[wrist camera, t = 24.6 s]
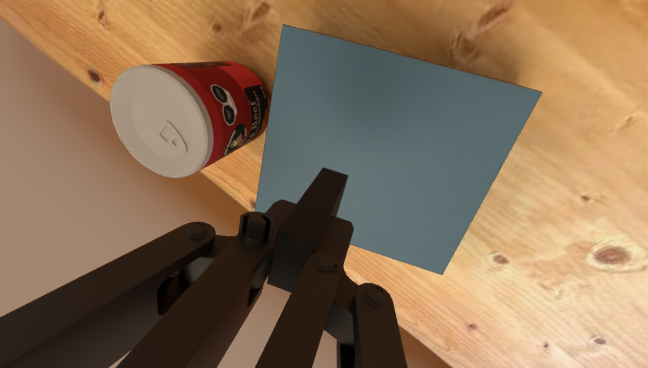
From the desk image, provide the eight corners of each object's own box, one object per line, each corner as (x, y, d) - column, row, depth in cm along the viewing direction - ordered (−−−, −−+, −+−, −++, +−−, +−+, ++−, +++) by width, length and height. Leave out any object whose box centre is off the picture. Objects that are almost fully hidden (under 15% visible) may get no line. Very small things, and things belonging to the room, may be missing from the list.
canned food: (255, 154, 32) (188, 198, 22) (193, 112, 32) (99, 137, 22) (287, 92, 29) (224, 112, 19) (218, 44, 29) (119, 39, 19)
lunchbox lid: (256, 209, 29) (254, 213, 28) (285, 24, 21) (282, 24, 21) (441, 270, 27) (442, 275, 26) (539, 91, 20) (542, 92, 19)
